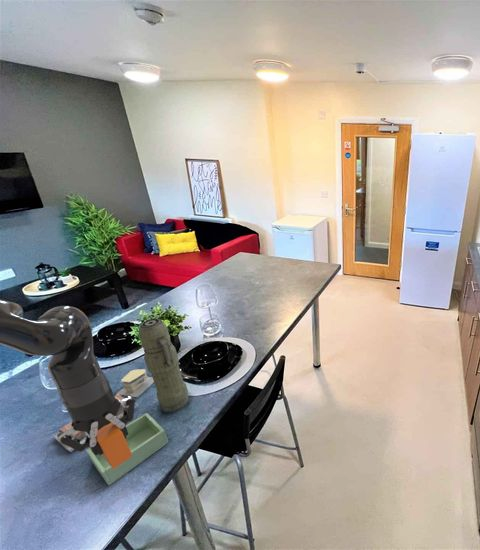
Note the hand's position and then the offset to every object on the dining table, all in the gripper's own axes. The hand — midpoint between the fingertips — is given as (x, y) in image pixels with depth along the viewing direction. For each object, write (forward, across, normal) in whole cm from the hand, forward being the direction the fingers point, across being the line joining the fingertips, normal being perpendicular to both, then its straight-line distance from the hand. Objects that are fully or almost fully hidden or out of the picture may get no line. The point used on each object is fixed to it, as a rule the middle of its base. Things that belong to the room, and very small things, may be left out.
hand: (112, 444), depth 70 cm
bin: (+20, -5, -14) cm, 25 cm away
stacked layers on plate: (+20, -18, -43) cm, 51 cm away
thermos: (+20, -22, -23) cm, 38 cm away
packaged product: (+20, -3, -35) cm, 41 cm away
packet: (+4, 0, 0) cm, 4 cm away
